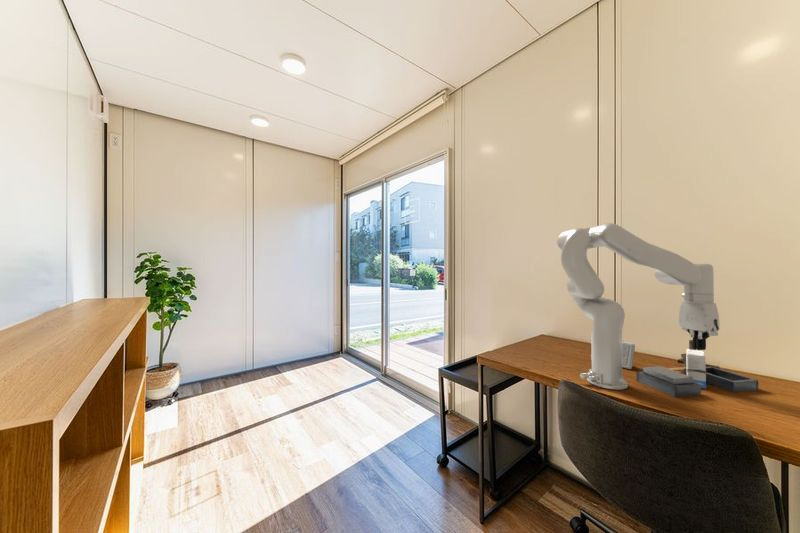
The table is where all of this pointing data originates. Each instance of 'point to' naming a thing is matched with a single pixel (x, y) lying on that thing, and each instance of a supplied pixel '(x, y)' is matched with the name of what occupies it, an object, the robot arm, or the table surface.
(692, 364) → the ink box
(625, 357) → the digital clock
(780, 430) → the table surface
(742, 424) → the table surface
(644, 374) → the grey case and lid
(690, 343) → the industrial component
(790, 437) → the table surface
